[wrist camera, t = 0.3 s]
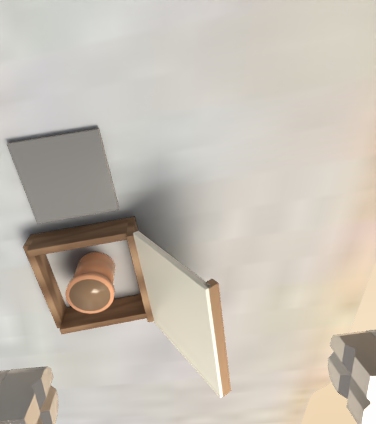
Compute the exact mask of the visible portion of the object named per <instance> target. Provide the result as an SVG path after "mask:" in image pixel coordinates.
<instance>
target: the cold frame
mask: <svg viewBox="0 0 376 424" xmlns="http://www.w3.org/2000/svg"><path fill="white" fill-rule="evenodd" d="M136 231H138V229H137V224H136V220H135V217H129V218H124V219H118V220H112V221H106V222H101V223H95V224H89V225H83V226H78V227H72V228H66V229H60V230H55V231H49V232H43V233H37V234H32V235H30V237H29V238H28V240H27V241H26V243H25V244H24V246H23V248H24V250H25V253H26V255H27V257H28V260H29V262H30V264H31V267H32V269H33V271H34V274H35V276H36V278H37V281H38V283H39V286H40V288H41V290H42V293H43V295H44V297H45V300H46V302H47V304H48V307H49V309H50V312H51V314H52V316H53V319H54V321H55V323H56V326H57V328H60V332H61V334H66V333H71V332H76V331H81V330H87V329H92V328H97V327H102V326H108V325H113V324H118V323H123V322H129V321H134V320H139V319H144V318H147V320H148V322H152V321H154V318H153V314H152V310H151V306H150V302H149V298H148V293H147V289H146V285H145V281H144V277H143V273H142V269H141V264H140V260H139V256H138V252H137V248H136V244H135V240H134V235H133V233H134V232H136ZM121 240H127V241H128V245H129V249H130V253H131V257H132V261H133V265H134V269H135V273H136V277H137V281H138V285H139V289H140V293H141V294H139V295H134V296H128V297H123V298H118V299H113V302H112V304H111V305H110V306H109V307H108V308H107V309H105V310H104V311H101V312H98V313H92V314H89V313H82V312H79V311H77V310H75V309H74V308H72V307H69V308H66V305H65V303H64V300H63V298H62V295H61V293H60V290H59V287H58V285H57V282H56V280H55V277H54V275H53V272H52V270H51V267H50V264H49V262H48V259H47V257H46V254H48V253H54V252H59V251H65V250H71V249H76V248H82V247H88V246H93V245H99V244H105V243H110V242H116V241H121Z"/></svg>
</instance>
